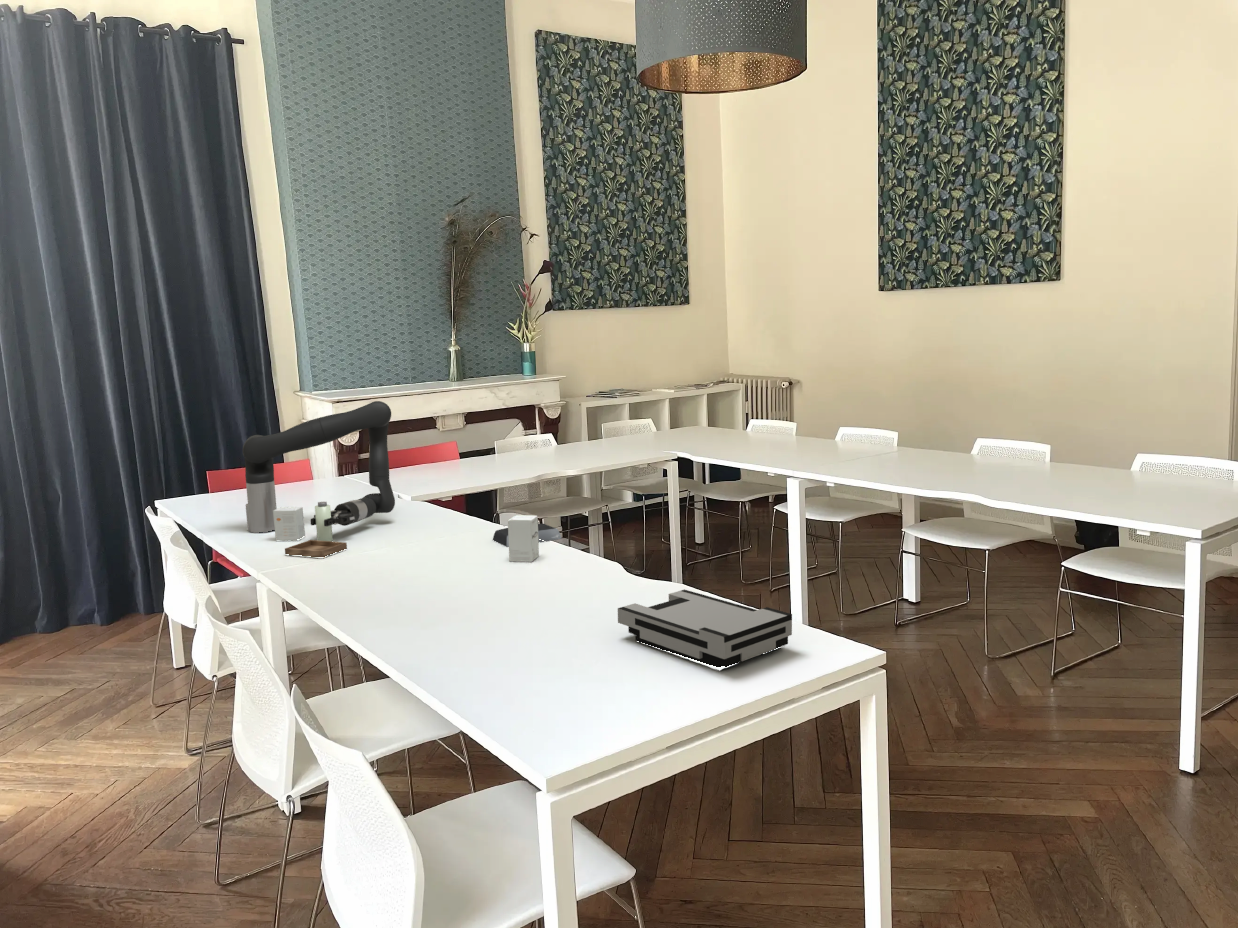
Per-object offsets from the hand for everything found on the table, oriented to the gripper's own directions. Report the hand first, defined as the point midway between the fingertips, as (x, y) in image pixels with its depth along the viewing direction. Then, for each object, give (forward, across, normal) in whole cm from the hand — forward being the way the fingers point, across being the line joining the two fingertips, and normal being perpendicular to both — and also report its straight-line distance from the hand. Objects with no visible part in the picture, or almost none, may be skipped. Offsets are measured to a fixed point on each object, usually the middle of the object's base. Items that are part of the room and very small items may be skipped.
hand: (318, 522), depth 307 cm
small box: (-4, -15, +8) cm, 17 cm away
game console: (+54, +144, +7) cm, 155 cm away
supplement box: (-2, +73, +7) cm, 73 cm away
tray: (+9, +6, +7) cm, 13 cm away
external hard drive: (-25, +62, +8) cm, 68 cm away
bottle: (-3, 0, +7) cm, 7 cm away
